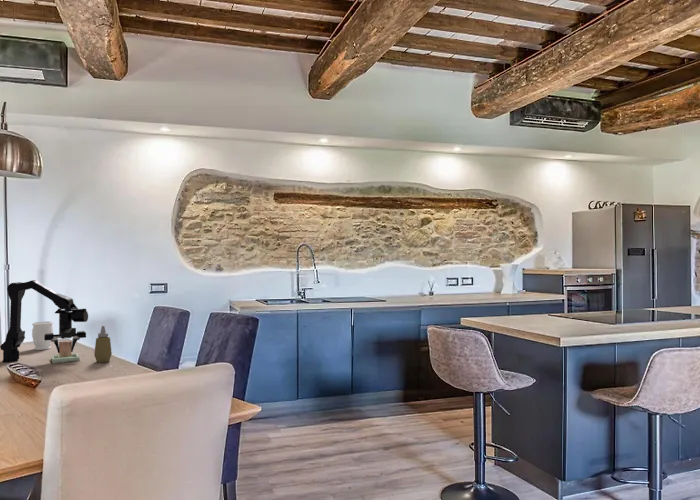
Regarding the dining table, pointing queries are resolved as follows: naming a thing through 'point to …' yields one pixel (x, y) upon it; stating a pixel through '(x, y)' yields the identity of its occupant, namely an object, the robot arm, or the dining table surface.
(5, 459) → the dining table surface
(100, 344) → the squeeze bottle
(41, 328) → the jar
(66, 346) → the pink rounded cylinder
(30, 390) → the dining table surface
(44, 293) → the robot arm
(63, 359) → the tray
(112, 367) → the dining table surface
